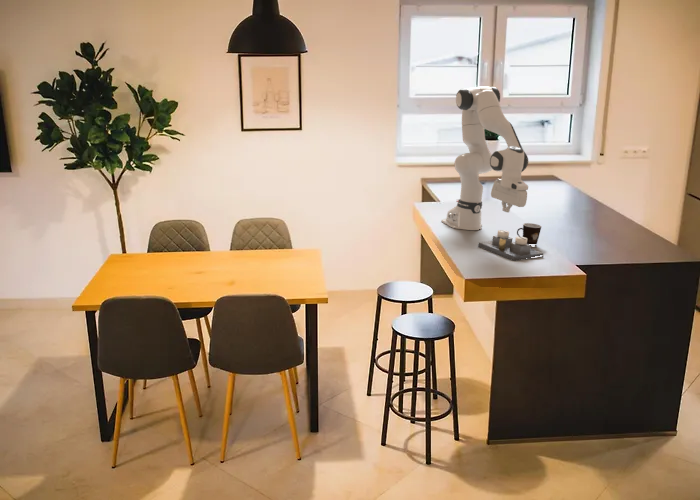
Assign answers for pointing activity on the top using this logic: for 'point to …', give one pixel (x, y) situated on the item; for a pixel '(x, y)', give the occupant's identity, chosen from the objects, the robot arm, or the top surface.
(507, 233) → the knob
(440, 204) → the top surface
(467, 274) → the top surface
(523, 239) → the knob
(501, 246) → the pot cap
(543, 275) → the top surface
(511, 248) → the mount plate
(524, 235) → the coffee mug
